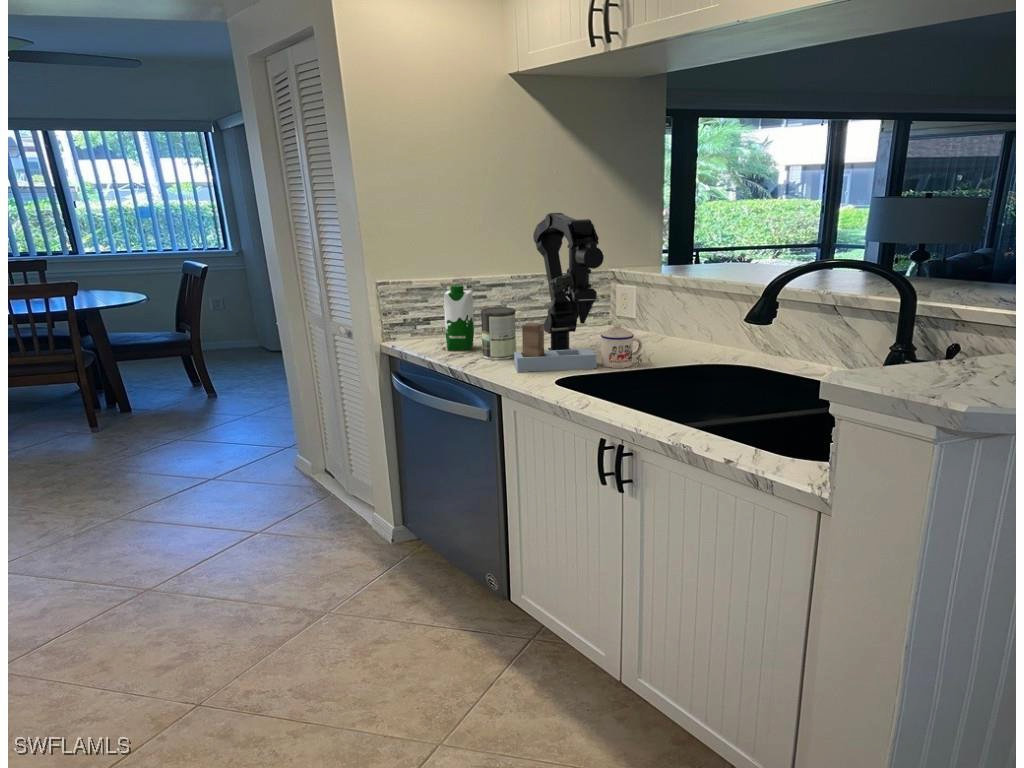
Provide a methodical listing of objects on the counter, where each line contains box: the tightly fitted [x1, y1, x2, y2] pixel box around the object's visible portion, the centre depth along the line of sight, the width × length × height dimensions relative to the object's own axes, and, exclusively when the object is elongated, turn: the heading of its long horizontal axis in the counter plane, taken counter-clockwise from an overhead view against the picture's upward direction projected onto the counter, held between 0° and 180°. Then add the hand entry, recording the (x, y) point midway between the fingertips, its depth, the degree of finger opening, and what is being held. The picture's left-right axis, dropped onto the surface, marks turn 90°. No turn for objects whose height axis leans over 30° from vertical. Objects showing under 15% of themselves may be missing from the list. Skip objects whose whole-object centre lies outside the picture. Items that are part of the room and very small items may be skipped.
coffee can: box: [480, 306, 517, 361], centre depth 228 cm, size 10×10×14 cm
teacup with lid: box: [600, 323, 643, 369], centre depth 215 cm, size 12×9×12 cm
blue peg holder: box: [513, 348, 598, 373], centre depth 214 cm, size 22×8×4 cm, turn 96°
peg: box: [521, 322, 545, 357], centre depth 213 cm, size 4×4×12 cm
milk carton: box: [443, 284, 475, 352], centre depth 240 cm, size 9×9×20 cm
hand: (579, 320), depth 218 cm, fingers open, 9 cm apart
